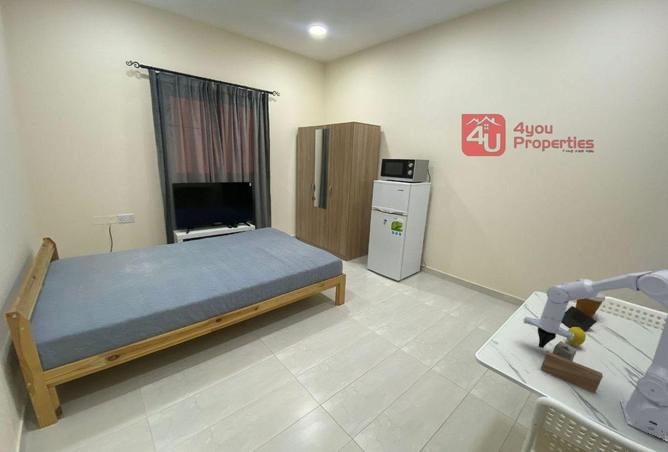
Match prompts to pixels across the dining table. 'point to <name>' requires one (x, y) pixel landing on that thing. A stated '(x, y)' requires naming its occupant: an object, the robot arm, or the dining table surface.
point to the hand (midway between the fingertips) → (540, 346)
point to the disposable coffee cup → (590, 304)
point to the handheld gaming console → (577, 319)
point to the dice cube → (564, 351)
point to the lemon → (577, 336)
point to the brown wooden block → (571, 372)
